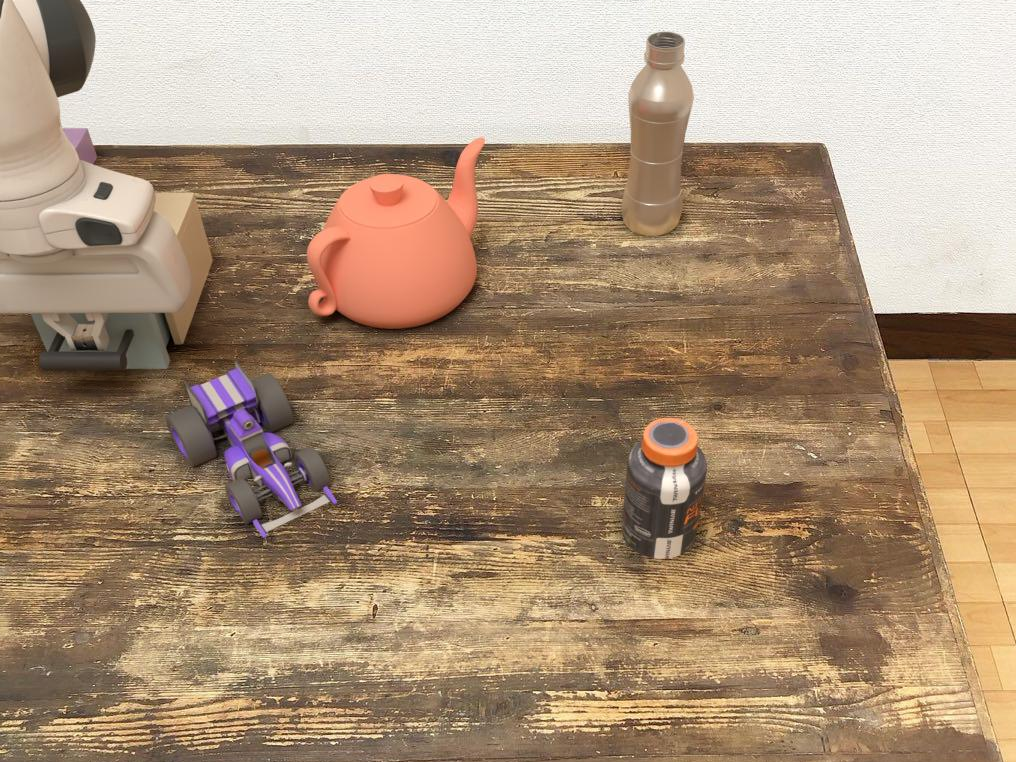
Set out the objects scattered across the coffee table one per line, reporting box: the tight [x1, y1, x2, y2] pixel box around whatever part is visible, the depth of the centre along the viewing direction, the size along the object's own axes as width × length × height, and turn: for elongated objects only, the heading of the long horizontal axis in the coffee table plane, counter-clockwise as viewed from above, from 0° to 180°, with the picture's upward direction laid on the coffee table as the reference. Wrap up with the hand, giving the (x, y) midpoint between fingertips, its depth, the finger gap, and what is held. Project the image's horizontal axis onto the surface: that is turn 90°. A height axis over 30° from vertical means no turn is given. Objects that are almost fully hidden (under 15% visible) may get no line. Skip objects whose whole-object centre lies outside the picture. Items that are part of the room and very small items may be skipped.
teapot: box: [306, 136, 486, 330], centre depth 103 cm, size 22×16×12 cm
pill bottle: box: [621, 417, 708, 560], centre depth 81 cm, size 6×6×11 cm
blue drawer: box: [30, 313, 172, 371], centre depth 98 cm, size 17×10×7 cm, turn 0°
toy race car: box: [165, 360, 339, 539], centre depth 88 cm, size 10×15×6 cm, turn 35°
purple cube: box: [62, 127, 98, 165], centre depth 121 cm, size 4×4×4 cm
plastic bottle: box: [620, 31, 695, 237], centre depth 107 cm, size 6×7×20 cm
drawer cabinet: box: [153, 192, 214, 345], centre depth 102 cm, size 14×12×9 cm
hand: (91, 346), depth 93 cm, fingers closed, pressing on blue drawer
